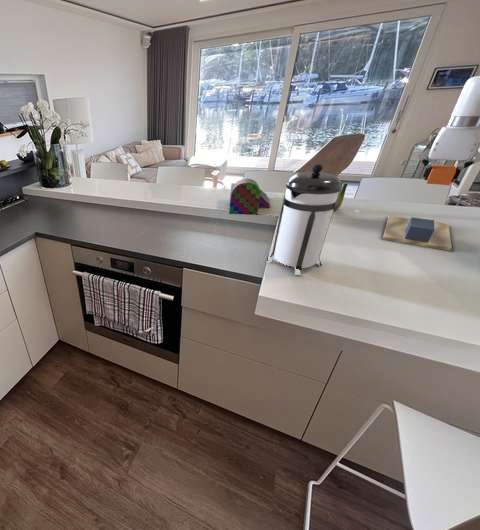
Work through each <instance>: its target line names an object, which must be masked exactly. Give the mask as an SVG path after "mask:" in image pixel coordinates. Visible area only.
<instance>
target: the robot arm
mask: <svg viewBox="0 0 480 530" xmlns="http://www.w3.org/2000/svg"><path fill="white" fill-rule="evenodd" d="M479 144H480V75H475V76H472V77H470V78H468V79H467V80H466V82H465V83H464V85H463V88H462V90H461V92H460V95H459V97H458V99H457V101H456V104H455V106H454V108H453V110H452V112H451V115H450V117H449V119H448V122H447V124H446V125H445V126H442V127H441V129H440V130H439V131H438V133H437V135H436V137H435V138H434V141H433V143H432V145H431V147H430V148H428V149H426V150H424V151H423V152H421V153H420V154H418V155H417V159H418V160H419V161H420V162H421V163H422V164H423V166H425V170H424V173H423V175H422V178H424V179H423V180H424V181H427V179H428V177H429V175H430V172H431V170H432V165H435V163H437V161H453V162H454V161H455V162H457V166H456V167H455V168H456V173H455V175H454V177H453V179H452V181H451V183H453V182H454V180H458V178H459V176H460V174H461V172H462V171H463V170H464V169H467V168H468V167H471V166H472V165H475V164H476V163H479V162H480V150H478V147H479ZM426 156H427V157H428V158H426ZM428 159H430V160H428Z"/></svg>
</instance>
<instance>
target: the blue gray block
mask: <svg viewBox="0 0 480 530" xmlns="http://www.w3.org/2000/svg"><path fill="white" fill-rule="evenodd" d="M434 222H435V220H434V219H428V218H419V217H411V218H410V222H409V224H408V226H407V228H406V233H405V239H409V240H415V241H421V242H427V243H428V241H429V240H430V238H431V236H432V234H433V232H434Z"/></svg>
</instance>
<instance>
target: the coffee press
mask: <svg viewBox="0 0 480 530" xmlns="http://www.w3.org/2000/svg"><path fill="white" fill-rule="evenodd" d="M322 170H323V166H322V164H320V163H315V164H314V165H313V166H312V167H311V171H305V172H304V171H303V172H299V173H296V174H294V175H292V176H291V177H290V178H289V180H288V181H286V183H285V188H286V190H285V194H284V196H283V200H282V206H281V209H280V214H279V218H278V223H277V228H276V234H275V239H274V242H273V248H272V251H271V254H270V255H271V256H270V255H269V256H270V257H271V258H272V257H273V259H274V258H275V259H276V260H275V261H276V262H278V263H279V262H280V263H279V264H281V263H282V264H281V265H283V264H284V265H283V266H286V265H287V266H286V267H289V266H291V267H290V268H294V267H296V269H299V270H301V271H302V269H306V268H310V267H313V266H316V267H317V268H318V267H322V266H323V263H322V261H321V260H320V257H321V253H322V250H323V247H324V243H325V241H326V237H327V234H328V231H329V228H330V224H331V221H332V217H333V214H334V211H335V210H334V208H335V206H336V203H337V196H338V193H339V192H340V191H341V190H342V187H343V184H341V182H342V181H341V179H340V178H339V177H338V176H337V175H334V174H332V173H328V172H323V171H322ZM266 261H268V257H267V258H266ZM318 261H319V263H318ZM321 263H322V264H321Z"/></svg>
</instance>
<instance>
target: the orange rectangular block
mask: <svg viewBox="0 0 480 530" xmlns="http://www.w3.org/2000/svg"><path fill="white" fill-rule="evenodd" d="M456 168H457V167H456V165H454V164H453V165H451V164H450V165H449V164H433V165H432V170H431V172H430V175H429V177H428V179H427V180H426V181H425V183H426V184H427V185H438V186H439V185H440V186H441V185H442V186H450V185H451V183H452V182H451V181H452V179H453V177H454V175H455V173H456Z"/></svg>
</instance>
